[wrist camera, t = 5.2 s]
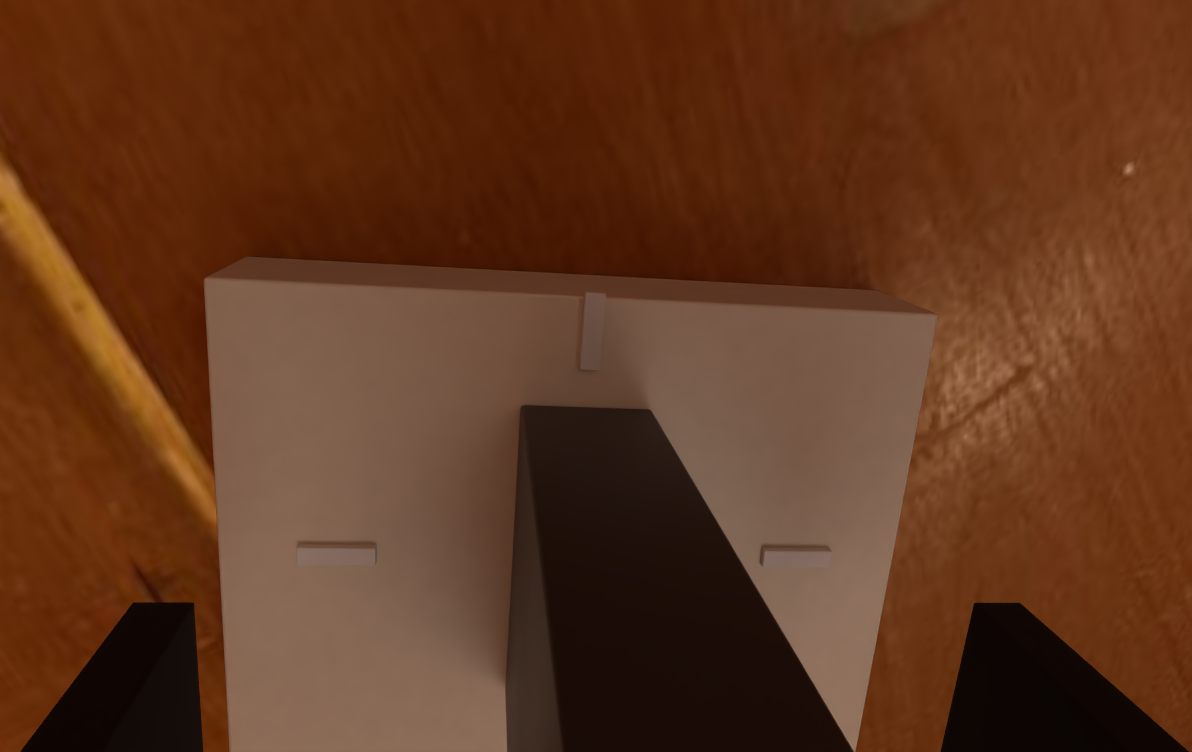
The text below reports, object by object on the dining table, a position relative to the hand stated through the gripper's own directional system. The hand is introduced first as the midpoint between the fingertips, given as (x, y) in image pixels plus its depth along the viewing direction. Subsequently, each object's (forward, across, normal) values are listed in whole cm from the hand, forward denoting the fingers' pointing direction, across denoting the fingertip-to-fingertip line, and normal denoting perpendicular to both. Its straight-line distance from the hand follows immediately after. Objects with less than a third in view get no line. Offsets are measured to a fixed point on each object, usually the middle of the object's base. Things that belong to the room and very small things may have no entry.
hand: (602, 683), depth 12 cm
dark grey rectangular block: (+4, 0, 0) cm, 4 cm away
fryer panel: (+6, 0, 0) cm, 6 cm away
